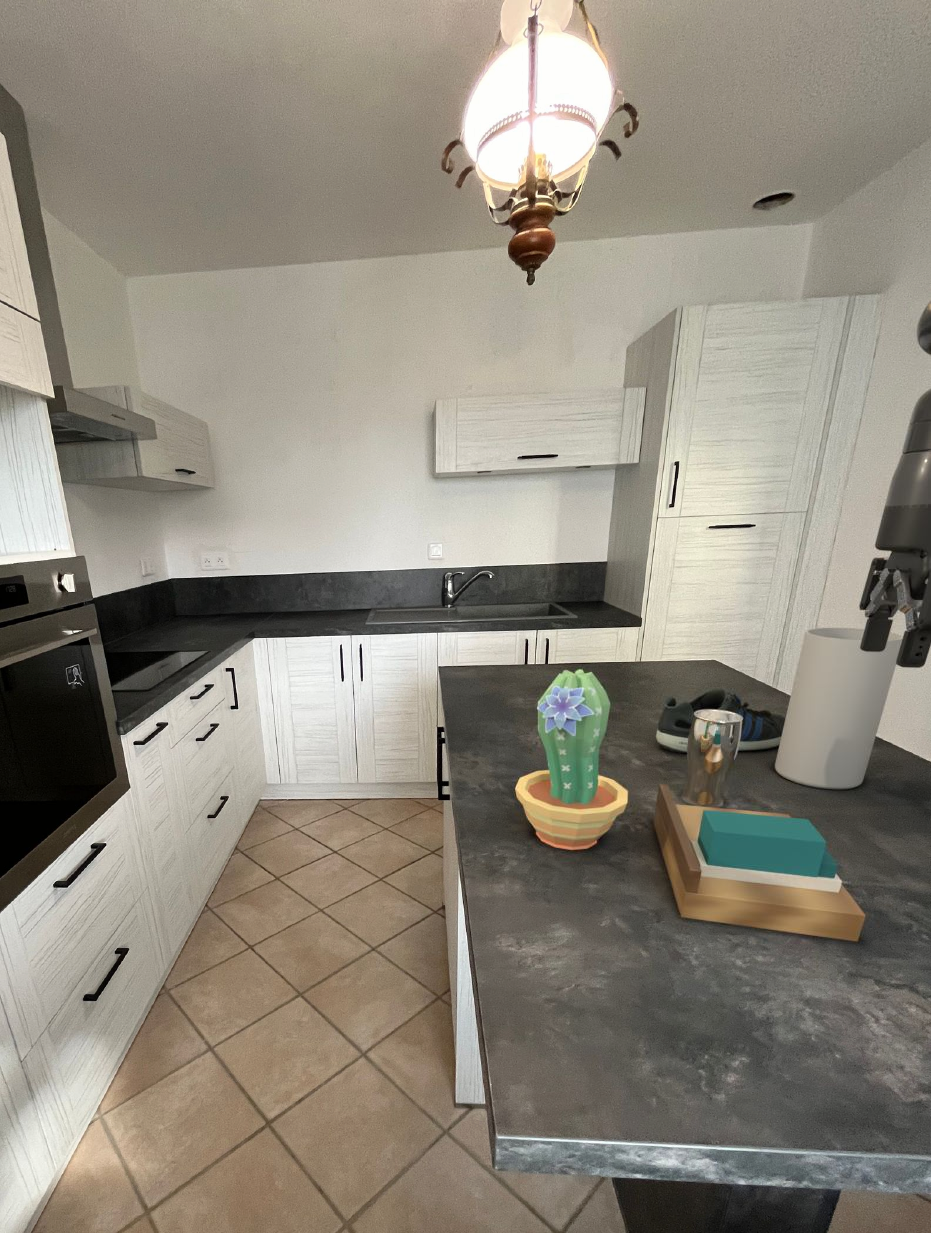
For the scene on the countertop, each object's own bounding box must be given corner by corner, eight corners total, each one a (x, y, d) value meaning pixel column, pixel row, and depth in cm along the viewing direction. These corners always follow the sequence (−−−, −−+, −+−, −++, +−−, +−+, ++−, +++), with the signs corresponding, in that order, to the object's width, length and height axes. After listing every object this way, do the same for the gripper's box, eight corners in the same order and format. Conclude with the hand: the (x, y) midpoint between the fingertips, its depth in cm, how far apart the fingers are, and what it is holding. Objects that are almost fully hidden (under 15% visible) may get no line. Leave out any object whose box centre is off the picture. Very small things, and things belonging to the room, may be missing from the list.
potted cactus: (492, 827, 91) (498, 667, 82) (573, 807, 96) (587, 655, 87) (557, 877, 78) (574, 693, 69) (647, 851, 83) (674, 676, 74)
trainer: (818, 865, 71) (830, 820, 69) (839, 893, 66) (853, 845, 64) (688, 850, 75) (696, 808, 73) (698, 876, 70) (707, 831, 68)
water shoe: (808, 745, 118) (822, 689, 114) (683, 763, 112) (693, 704, 108) (763, 729, 128) (775, 677, 124) (646, 745, 121) (653, 690, 117)
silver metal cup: (706, 816, 92) (723, 725, 86) (668, 799, 98) (682, 712, 92) (736, 807, 94) (755, 717, 89) (697, 791, 100) (713, 706, 95)
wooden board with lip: (782, 839, 85) (793, 794, 82) (856, 946, 63) (873, 891, 61) (652, 826, 90) (659, 784, 87) (680, 922, 68) (690, 869, 66)
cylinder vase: (818, 795, 97) (858, 643, 88) (757, 767, 109) (786, 630, 100) (881, 786, 99) (925, 637, 91) (814, 760, 111) (848, 625, 102)
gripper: (1029, 496, 53) (970, 674, 58) (939, 500, 65) (897, 647, 71) (926, 500, 55) (878, 672, 61) (858, 504, 68) (824, 645, 73)
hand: (889, 658), depth 66 cm, fingers open, 8 cm apart
